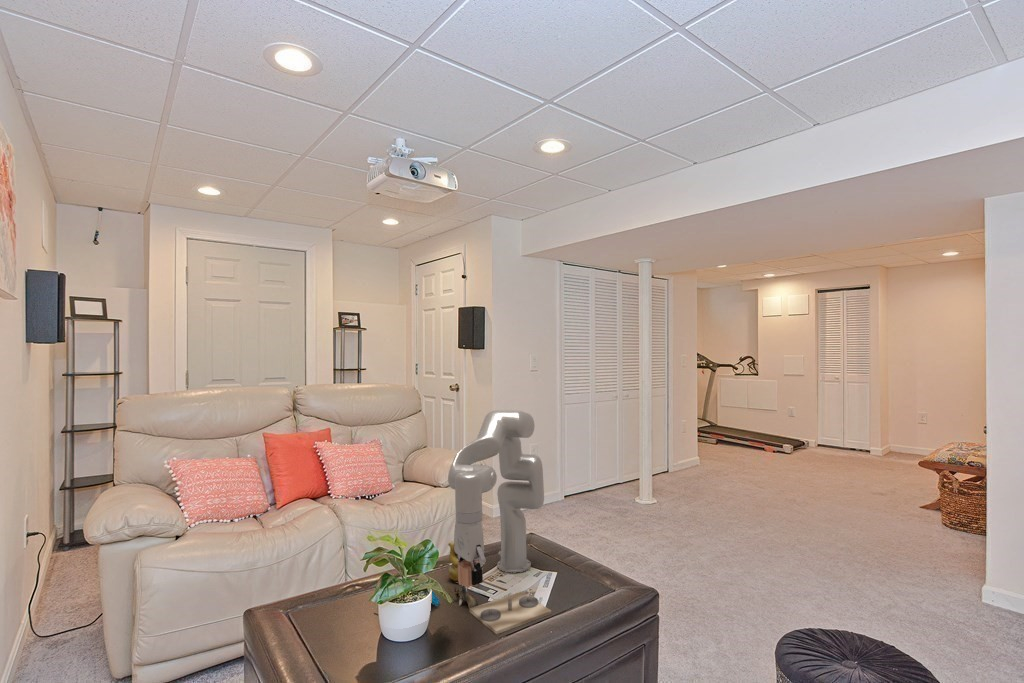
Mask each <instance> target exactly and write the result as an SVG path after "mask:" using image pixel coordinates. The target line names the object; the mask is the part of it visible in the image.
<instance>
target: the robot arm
mask: <svg viewBox="0 0 1024 683" xmlns="http://www.w3.org/2000/svg"><path fill="white" fill-rule="evenodd" d="M481 424H482V425H481V427H480V429H479V431H478V435H477V437H476V439H475V440H473V441H471V442H470V443H469V444H467V445H465V446H463V447H462V448H461V449H460V450H459V451H458V452H457V453H456V454H455V455H454V457H453V459H452V463H451V465H450V468H449V471H448V475H447V482H448V486H449V487H450V488H451V489H452V490H454V495H455V497H454V498H455V524H454V534H453V535H454V536H453V542H454V551H455V553H457V554H458V563H459V562H461V561H463V560H464V559H465V560H466V561H468V562H471V564H472V568H473V570H472V571H471V576H472V585H473V586H472V587H475V586H474V585H477V584H478V585H480V584H482V583H483V582H484V578H483V576H484V575H483V576H482V569H483V570H484V567H485V563H486V562H487V560H486V559H487V558H486V557H485V544H484V543H485V542H484V540H485V539H484V531H483V530H484V529H483V524H482V522H483V497H482V496H483V494H484V493H487V492H490V491H492V489H493V488H494V487H495V486H496V484H497V481H498V480H497V479H498V477H497V476H498V475H497V472H496V470H495V469H494V467H493V466H489V465H481V464H480V465H477V464H475V463H477V462H480V461H484V460H488V459H491V458H493V457H495V456H497V455H498V459H499V460H498V462H499V471H500V476H501V477H502V478H503V479H504V480H507V481H505V482H502V483H500V484H499V486H498V487H497V491H496V492H497V493H496V494H497V501H498V506H499V515H500V517H499V519H500V520H499V521H500V522H499V523H500V550H499V551H498V553H497V554H498V555H499V556H500V560H498V562H497V563H496V567H497V569H498V568H499V569H500V570H499V569H498V570H499V571H501V570H502V571H501V572H503V571H505V572H504V573H507V572H511V573H510V574H517V573H516V572H520V573H523V572H522V571H524V572H525V570H526V571H528V570H530V568H531V567H532V566H531V565H532V564H531V561H530V560H529V559H528V558H527V531H526V530H527V529H526V528H527V525H526V524H527V521H526V520H527V519H526V516H525V514H524V513H523V511H522V510H521V509H527V510H538V509H540V508H542V507H543V505H544V502H545V487H544V469H543V463H542V459H541V458H540V456H538V455H537V454H526V453H523V451H522V440H521V439H520V438H523V439H526V438H528V439H529V438H531V437H532V435H533V433H534V431H535V420H534V417H533V416H532V415H531V414H530V413H528V412H525V411H523V410H522V411H521V410H512V409H511V410H510V409H509V410H507V409H505V410H501V409H500V410H492V411H489V412H487V414H486V415H485V416H484V419H483V421H482V423H481ZM508 480H509V481H508ZM523 481H525V482H523ZM527 481H528V482H527ZM477 560H478V563H477V564H476V565H475V561H477ZM527 569H528V570H527ZM512 572H513V573H512Z"/></svg>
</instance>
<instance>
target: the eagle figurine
mask: <svg viewBox="0 0 1024 683" xmlns="http://www.w3.org/2000/svg"><path fill="white" fill-rule="evenodd" d="M467 588H468V587H465V586H463V585H461V590H460V587H459V586H457V587H454V588H453V590H451V589H450V588H447V589H448V591H449V592H450V593H451V594H454V596H455V597H456V599H457V600H458V607H461V606H462V604H463V602H466V603H467V606H468V609H470V608H473V607H476V606H479V603H478V601H477V599H476V598H475V597H474V596H473V595H471V594H470V593H468V589H467Z"/></svg>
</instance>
